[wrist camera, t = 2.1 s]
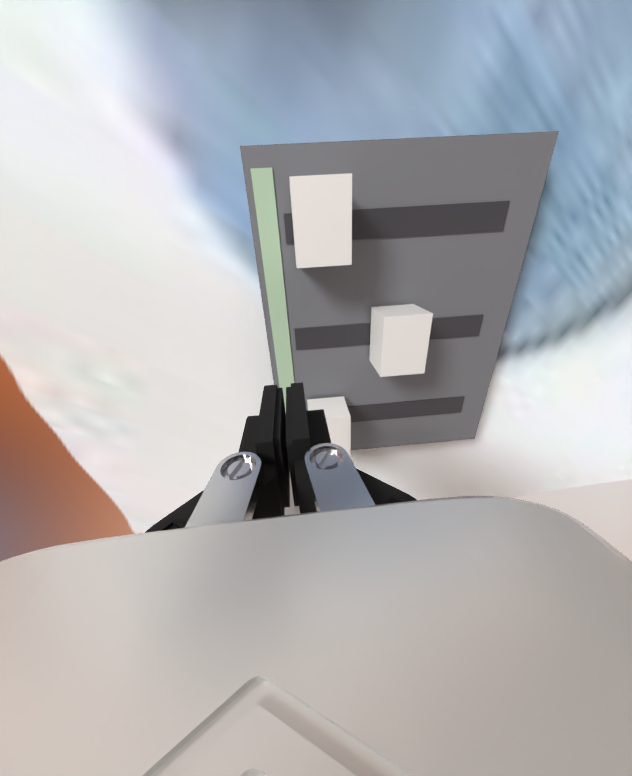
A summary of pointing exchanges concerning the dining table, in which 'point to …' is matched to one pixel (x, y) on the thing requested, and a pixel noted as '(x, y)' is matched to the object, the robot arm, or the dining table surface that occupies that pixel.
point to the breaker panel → (392, 270)
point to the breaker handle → (399, 339)
